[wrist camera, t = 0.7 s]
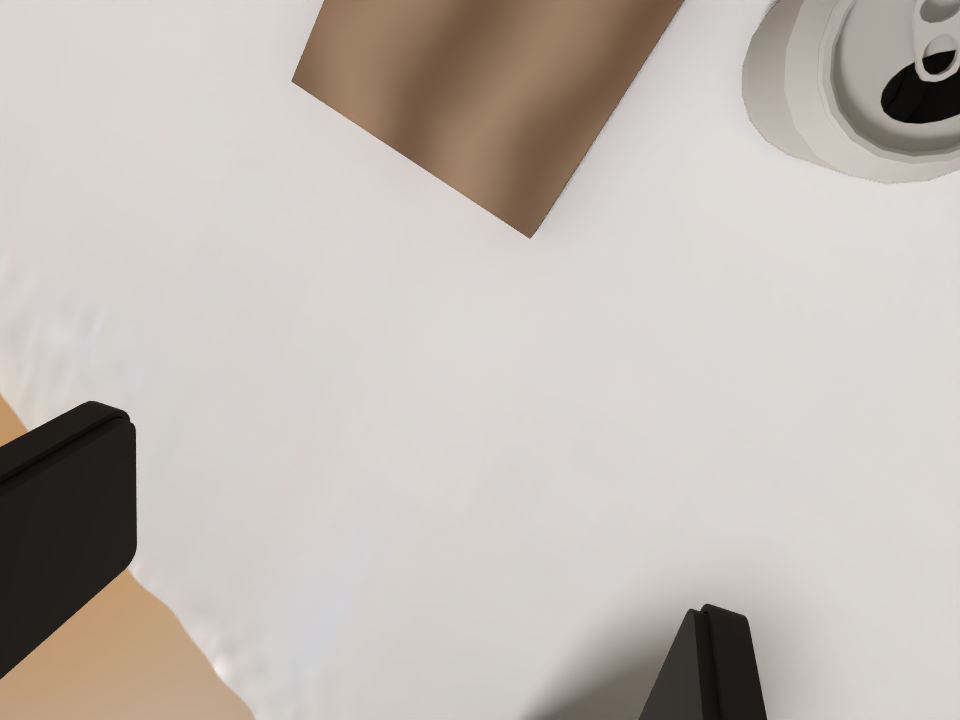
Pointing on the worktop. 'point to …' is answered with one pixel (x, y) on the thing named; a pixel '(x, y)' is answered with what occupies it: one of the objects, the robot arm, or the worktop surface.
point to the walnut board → (484, 85)
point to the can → (859, 86)
